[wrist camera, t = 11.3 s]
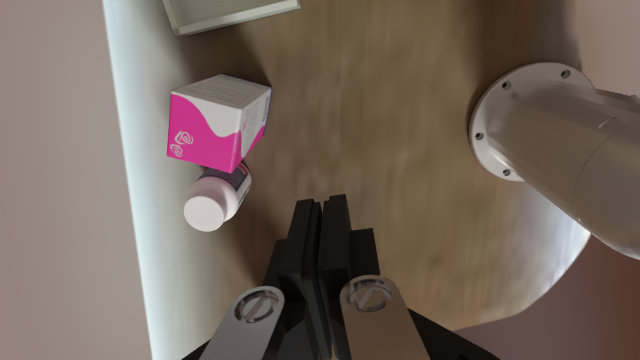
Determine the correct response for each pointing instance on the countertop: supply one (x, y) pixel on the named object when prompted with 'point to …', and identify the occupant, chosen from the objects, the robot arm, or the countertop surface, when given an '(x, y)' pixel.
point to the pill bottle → (216, 197)
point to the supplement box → (217, 121)
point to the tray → (220, 13)
